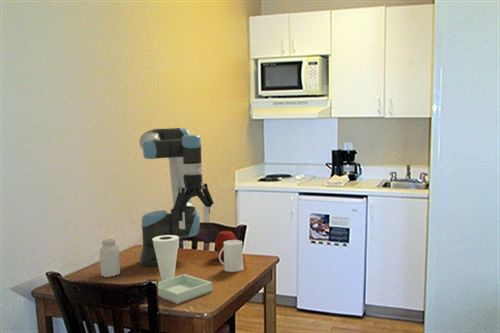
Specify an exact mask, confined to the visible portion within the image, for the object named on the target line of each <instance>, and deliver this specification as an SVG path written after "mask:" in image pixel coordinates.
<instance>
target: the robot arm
mask: <svg viewBox="0 0 500 333" xmlns="http://www.w3.org/2000/svg"><path fill="white" fill-rule="evenodd" d="M139 146H140V148H141V149H142V155H143V158H144V159H146V160H147V159H148V160H154V159H168V164H169V173H170V184H171V194H172V202H173V204H172V205H173V206H172V207H171V208H170V212H168V211H167V210H164V209H163V210H155V211H151V212H147V213H145V214H143V215H142V217H141V225H140V226H141V233H142V234H141V235H142V247H141V248H142V249H141V252H140V257H139V264H140V265H142V266H144V267H158V262H157V258H156V253H155V249H154V245H153V240H152V239H153V238H154V237H157V236H162V235H175V236H178V237H179V239H180V238H190V237H196V236H197V235H198V234H199V231H200V224H201V223H200V220H201V219H200V218H201V216H200V215H201V214H200V211H199V210H196V207H195V205H193V204H192V198H195V197H198V199H199V200H200V201H201V203H202V204H203V206H202V207H203V208H202V214H203V215H202V216H203V217H202V218H203V223H210V215H211V208H212V206H213V205H214V201H213V197H212V195H211V193H210V191H209V189H208V187H209V186H208V184H207V183H206V182H205V183H203V174H202V172H203V169H202V168H203V165H202V139H201V136H200V135H198V134H190V132H189V130H188V129H187V128H185V127H173V128H170V127H169V128H154V129H150V130H147V131H146V132H144V133H143V134H142V135H141V136H140V138H139Z"/></svg>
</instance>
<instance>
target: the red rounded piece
mask: <svg viewBox="0 0 500 333" xmlns="http://www.w3.org/2000/svg"><path fill="white" fill-rule="evenodd" d="M228 240H238V239H237V237H236V235H235V234H234V232H233V231H229V230H226V228H224V230H222V231H220V232H218V234H217V235H216V238H215V249H216V252H217V253H218V255H219V253H220V251H221V249H222V248H223V247H224V242H225V241H228ZM220 258H221V259H224V250H223V251H222V253H221V256H220Z"/></svg>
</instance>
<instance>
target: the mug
mask: <svg viewBox="0 0 500 333" xmlns="http://www.w3.org/2000/svg"><path fill="white" fill-rule="evenodd" d="M223 250H224V258H223V260H222V257H221V253H222V251H223ZM243 253H244V252H243V241H242V240H239V239H237V240H228V241H225V242H224V247H223V248H222V249H221V251H220V253H219V254H218V260H219V262H220V263H221V265H224V266H223V267H224V268H223V271H224V272H229V273H235V272H236V273H237V272H241V271H243V270H244V268H245V267H244V260H243V259H244V258H243V256H244V255H243Z"/></svg>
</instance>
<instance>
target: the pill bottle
mask: <svg viewBox="0 0 500 333" xmlns="http://www.w3.org/2000/svg"><path fill="white" fill-rule="evenodd" d="M101 242H102V243H101V244H102V246H101V247H100V249H99V265H100V274H101V276H102V277H103V276H104V278H112V277H111V276H113V277H116V276H115V275H117V276H119V275H120V274H121V267H120V266H121V264H120V250H119V249H120V248H119V247H118V246H117V245H116V239H113V238H111V239H110V238H109V239H104V240H102V241H101ZM118 274H119V275H118Z"/></svg>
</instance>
